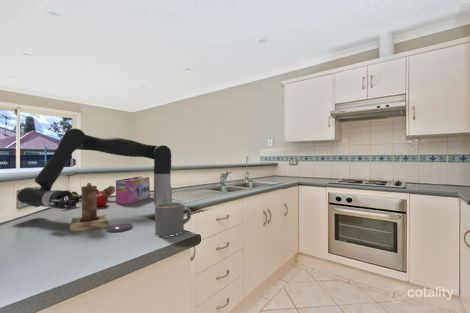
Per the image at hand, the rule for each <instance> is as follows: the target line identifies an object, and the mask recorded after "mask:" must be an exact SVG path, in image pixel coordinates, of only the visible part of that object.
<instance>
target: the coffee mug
mask: <svg viewBox="0 0 470 313" xmlns="http://www.w3.org/2000/svg"><path fill="white" fill-rule="evenodd" d="M185 213H186V217H185V216H184V214H185ZM184 217H185V218H184ZM191 218H192V210H191V209H190V208H189V207H187V206H185V205H184V203H183V202H179V201H177V202H176V201H172V202H166V203H160V204H157V205H155V204H154V223H155V225H154V228H155V229H154V230H155V232H154V235H155V236H156V235H159V236H170V235H176V234H179V233H181V232H183V230H184V231H185V226H184V225H185V224H186V223H188V222H189V221H190V220H191ZM183 233H184V232H183ZM159 236H158V237H159Z"/></svg>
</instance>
